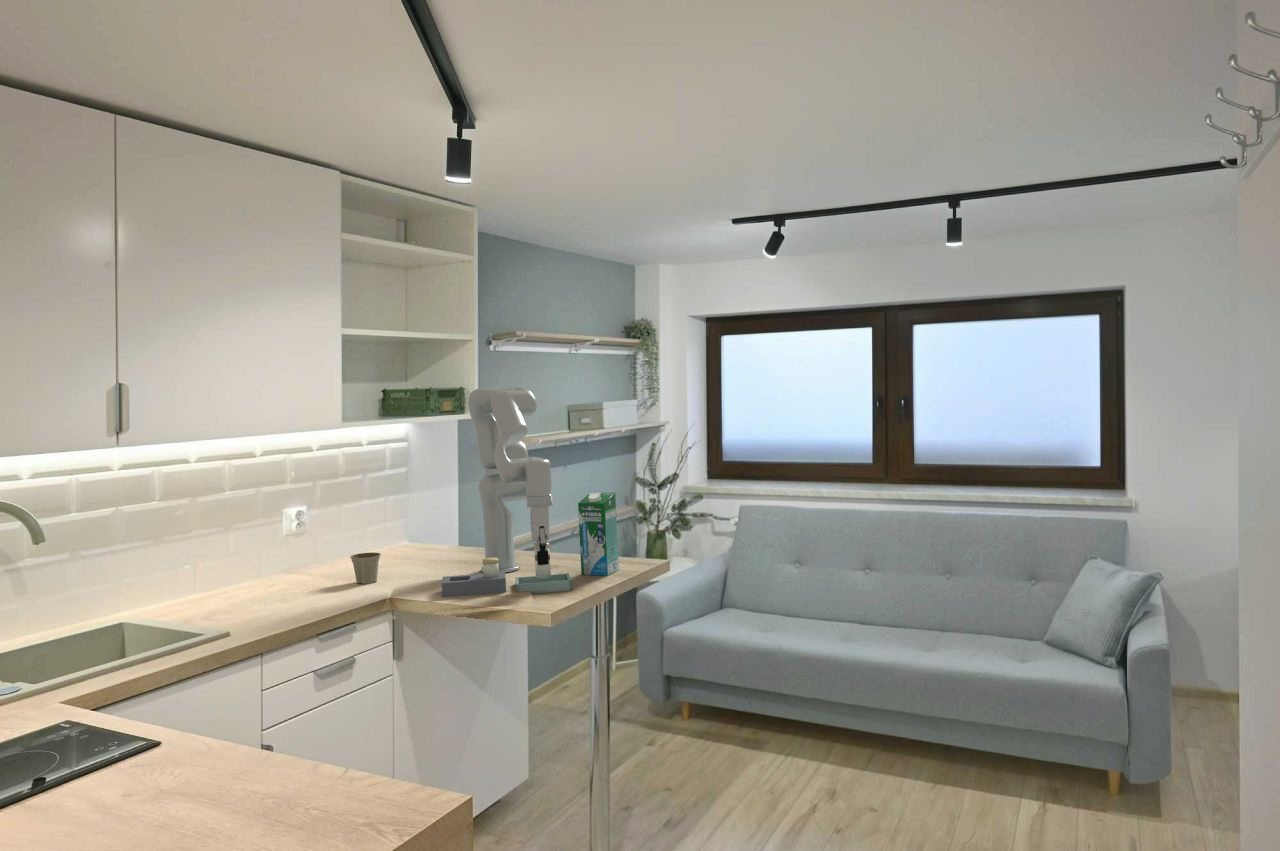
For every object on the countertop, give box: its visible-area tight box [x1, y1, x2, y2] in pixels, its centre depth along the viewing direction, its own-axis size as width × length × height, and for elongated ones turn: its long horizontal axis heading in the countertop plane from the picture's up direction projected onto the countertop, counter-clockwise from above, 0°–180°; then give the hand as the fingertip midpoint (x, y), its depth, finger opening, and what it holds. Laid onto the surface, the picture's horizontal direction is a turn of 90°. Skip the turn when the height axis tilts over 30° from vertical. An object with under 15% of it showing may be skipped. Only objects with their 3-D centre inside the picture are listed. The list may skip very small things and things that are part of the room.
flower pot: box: [349, 552, 382, 585], centre depth 281 cm, size 9×9×9 cm
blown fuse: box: [533, 541, 552, 579], centre depth 261 cm, size 5×5×10 cm
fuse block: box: [441, 557, 507, 598], centre depth 258 cm, size 9×18×10 cm, turn 100°
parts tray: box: [514, 573, 573, 595], centre depth 261 cm, size 10×16×3 cm, turn 100°
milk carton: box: [577, 492, 619, 577], centre depth 281 cm, size 9×9×25 cm
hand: (542, 562), depth 261 cm, fingers closed on blown fuse, 4 cm apart
